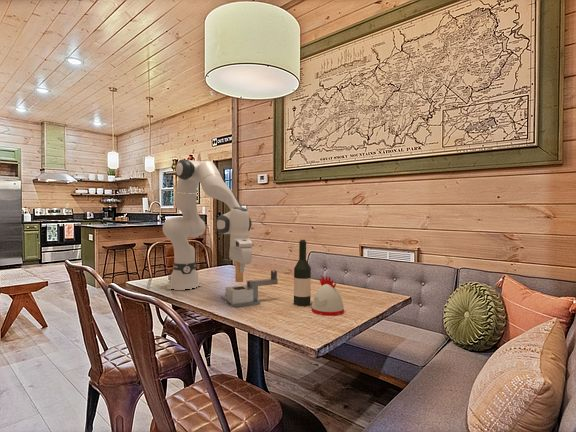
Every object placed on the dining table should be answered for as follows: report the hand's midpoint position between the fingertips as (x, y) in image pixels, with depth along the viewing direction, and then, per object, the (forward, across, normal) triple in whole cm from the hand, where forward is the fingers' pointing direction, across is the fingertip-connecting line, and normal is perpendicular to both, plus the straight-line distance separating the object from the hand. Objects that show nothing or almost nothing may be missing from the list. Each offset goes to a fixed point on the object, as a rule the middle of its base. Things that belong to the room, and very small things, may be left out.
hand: (239, 271), depth 160 cm
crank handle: (+7, 0, +12) cm, 14 cm away
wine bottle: (+15, +14, +26) cm, 33 cm away
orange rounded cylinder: (+5, 0, 0) cm, 5 cm away
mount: (+15, -3, +1) cm, 15 cm away
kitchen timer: (+15, +29, +30) cm, 44 cm away
